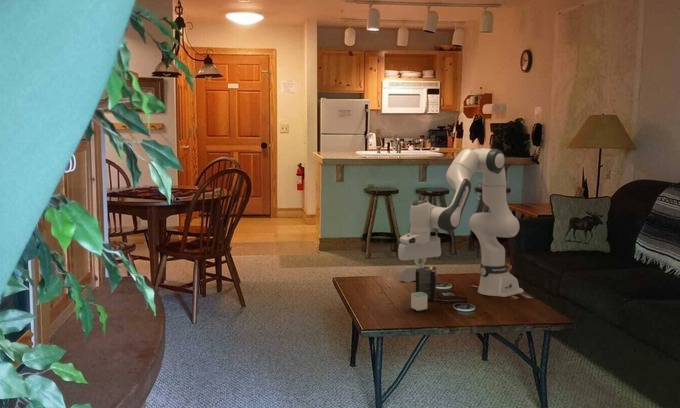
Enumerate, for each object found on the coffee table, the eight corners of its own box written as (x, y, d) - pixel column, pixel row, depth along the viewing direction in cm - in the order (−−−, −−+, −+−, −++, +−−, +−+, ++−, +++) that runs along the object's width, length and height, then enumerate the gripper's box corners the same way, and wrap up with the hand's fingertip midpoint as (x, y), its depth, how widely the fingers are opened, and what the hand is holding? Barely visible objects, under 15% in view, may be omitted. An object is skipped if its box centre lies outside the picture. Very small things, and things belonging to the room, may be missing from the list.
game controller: (435, 280, 331) (435, 264, 330) (436, 281, 328) (436, 265, 327) (399, 281, 327) (400, 266, 326) (401, 282, 325) (401, 267, 324)
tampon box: (435, 302, 288) (435, 271, 286) (415, 301, 289) (415, 270, 288) (436, 296, 298) (436, 266, 297) (417, 295, 300) (417, 265, 298)
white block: (421, 305, 278) (421, 291, 277) (427, 308, 274) (427, 294, 273) (411, 307, 276) (411, 292, 275) (417, 310, 271) (417, 295, 271)
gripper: (436, 234, 279) (436, 264, 280) (396, 238, 270) (396, 269, 272) (444, 236, 273) (443, 267, 275) (403, 240, 264) (403, 272, 266)
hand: (419, 268), depth 273 cm, fingers closed
